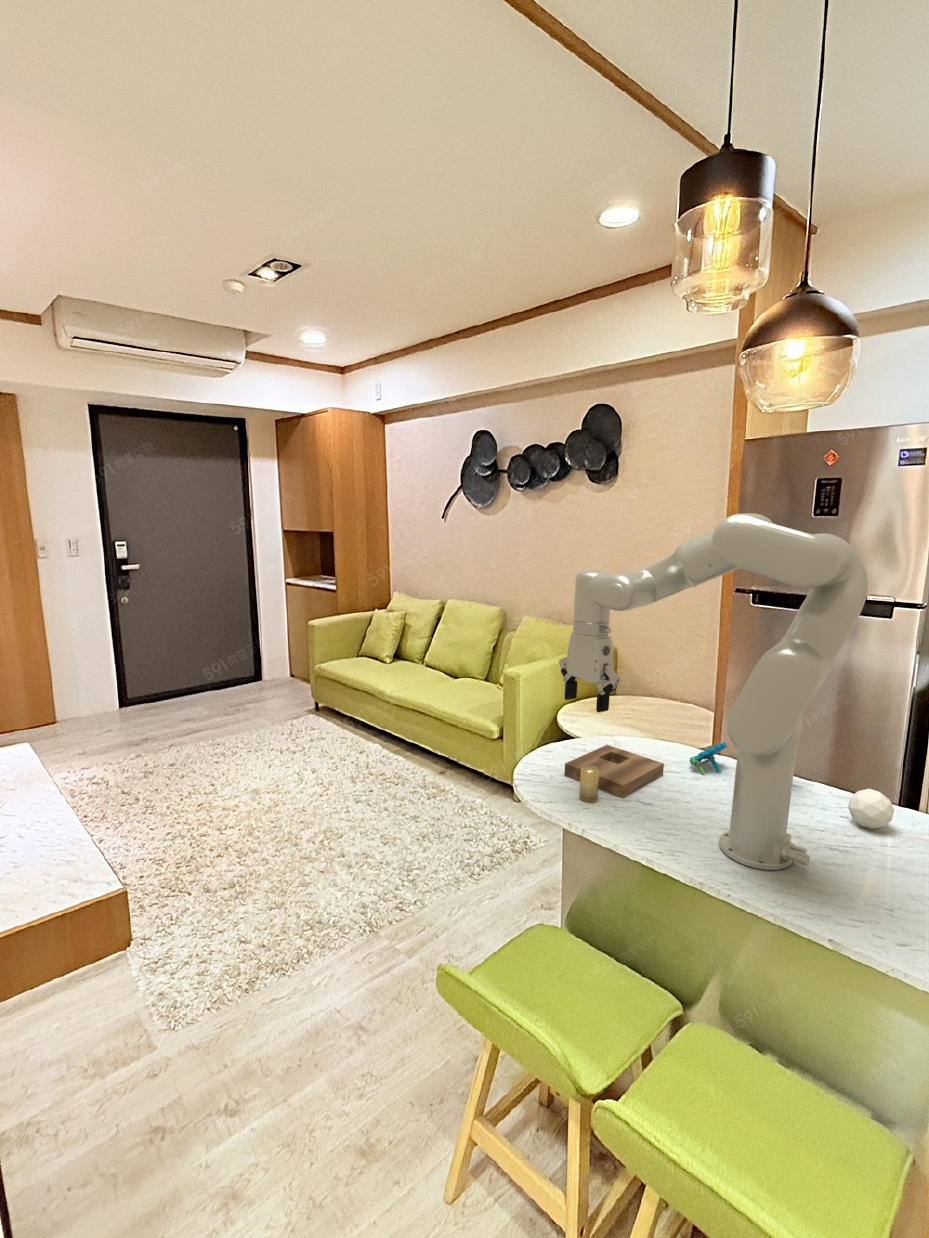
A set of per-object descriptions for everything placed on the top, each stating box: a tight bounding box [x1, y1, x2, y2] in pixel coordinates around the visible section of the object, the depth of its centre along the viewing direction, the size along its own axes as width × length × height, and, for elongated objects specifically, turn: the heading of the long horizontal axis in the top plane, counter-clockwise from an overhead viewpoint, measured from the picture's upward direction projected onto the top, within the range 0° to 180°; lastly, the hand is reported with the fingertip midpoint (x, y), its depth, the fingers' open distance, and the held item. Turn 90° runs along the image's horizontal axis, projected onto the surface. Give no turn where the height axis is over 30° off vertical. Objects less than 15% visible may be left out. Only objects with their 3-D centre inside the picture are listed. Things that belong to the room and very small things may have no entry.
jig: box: [564, 744, 665, 799], centre depth 150 cm, size 16×18×3 cm
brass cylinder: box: [578, 765, 599, 804], centre depth 137 cm, size 4×4×7 cm
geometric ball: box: [847, 788, 895, 830], centre depth 128 cm, size 8×8×8 cm
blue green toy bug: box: [688, 742, 728, 775], centre depth 154 cm, size 11×6×10 cm
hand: (585, 704), depth 137 cm, fingers open, 9 cm apart
